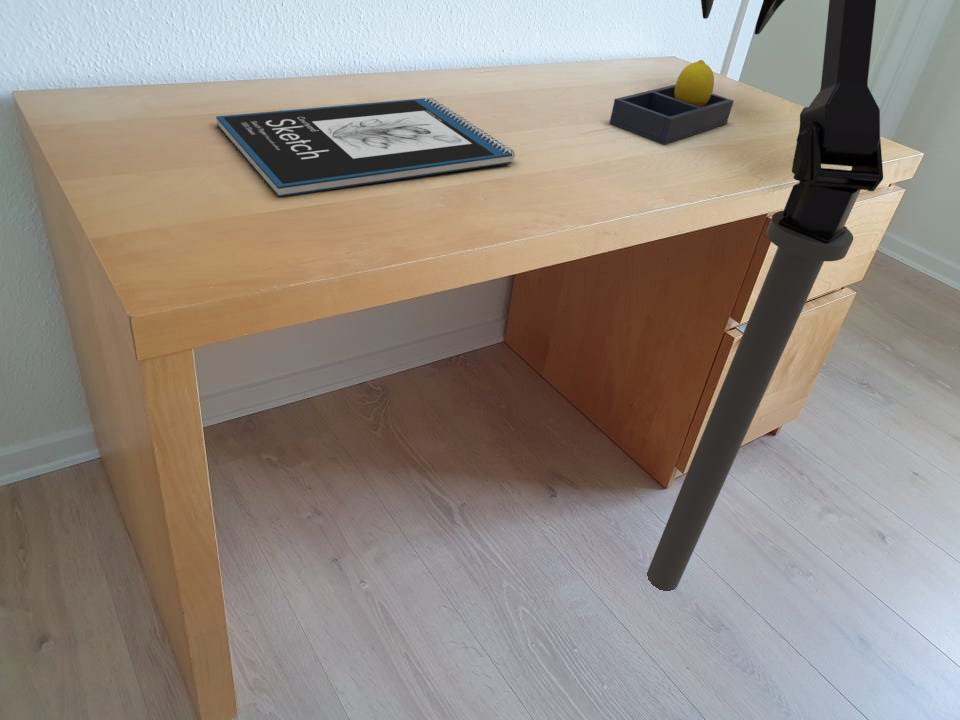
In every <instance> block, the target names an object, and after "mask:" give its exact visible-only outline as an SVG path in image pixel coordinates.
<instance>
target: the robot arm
mask: <svg viewBox="0 0 960 720" xmlns="http://www.w3.org/2000/svg"><path fill="white" fill-rule="evenodd" d="M714 1H715V0H700V5H701V13H702V19H704V20H706V19H709V17H710V14H711V11H712V8H713V6H714ZM785 1H786V0H763V1H762V5H761V8H760V10H759V14H758V16H757V20H756V24H755V27H754V35H756V36H757V35H760V34H761V32H762V31H763V30H764V28H765V27H766V26H767V24H768V23H769V21H770V20H771V19H772V17H773V16H774V15H775V13H776V12H777V10H778V9H779V8H780V7H781V6H782V4H783V3H784V2H785ZM876 9H877V0H829V1H828V11H827V20H826V21H827V22H826V29H825V30H826V31H825V41H824V50H823V51H824V52H823V62H822V71H821V82H820V88H819V92H818V93H817V94H816V96H815V97H814V98H813V100H812V102H811V103H810V104H809V106H806V107H803V108H802V109H801V111H800V114H799V130H798V134H797V138H796V146H795V151H794V156H793V161H792V166H791V173H792V174H793V176H792V178H793V179H794V180H795V181H797V183H796V184H793V186H792V188H791V191H790V193H789V196H788V198H787V201H786V203H785V206H784V208H783V210H784V211H783V210H782V211H783V213H782V214H783V216H785V217H784V218H782V219H780V220H779V223H778V224H779V225H781V226H784V227H786V228H789V229H791V230H794V231H796V232H798V233H801V234H803V235H806V236H808V237H811V238H813V239H815V240H818V241H820V242H823V243H826V244H828V243H830V242H831V241H833V240H834V239H836V238H837V237H839V236H840V235H842V234H843V233H845V232H846V230H847V229H848V227H847V226H846V224H847V221H848V219H849V217H850V215H851V212H852V211H853V208H854V206H855V204H856V201H857V199H858V197H859V196H860V193H861V191H868V192H874V191H875V190H876V189H877V188H878V187H879V185H880V184H881V183H882V181H883V180H884V169H883V168H884V167H883V156H882V155H883V154H882V153H883V152H882V143H881V142H882V141H881V110H880V107H879V105H878V103H877V101H876V99H875V97H874V95H873V94H872V91H871V90H870V87H869V76H870V75H869V74H870V66H871V57H872V45H873V38H874V37H873V36H874V29H875V28H874V27H875V17H876ZM822 165H826V166H827V165H828V166H841V167H851V169H839V168H829V167H828V168H826V167H822Z"/></svg>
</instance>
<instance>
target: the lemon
mask: <svg viewBox="0 0 960 720" xmlns="http://www.w3.org/2000/svg"><path fill="white" fill-rule="evenodd" d="M675 84H676V85H675ZM675 84H674V85H675V91H674V95H675V99H678V100H681V101H684V102H687V103H689V104H692V105H695V106H698V107H703V106H704V105H705V104H706V103H707V102H708V100H709V99H710V97H711V94H713V91H714V86H715V85H714V84H715V75H714V72H713V70H712V68H711V67H710V66H709V65H708V64H707V63H706V62H705V61H704V60H703V59H699V60H697V61H694V62H691V63H689V64H687V65H686V66H685V67H684V68H682V70H681V72H680V74H679V75H678V77H677V80H676V82H675Z"/></svg>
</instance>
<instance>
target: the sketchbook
mask: <svg viewBox="0 0 960 720" xmlns="http://www.w3.org/2000/svg"><path fill="white" fill-rule="evenodd" d="M215 118H216V119H215V120H216V126H217V127H218V128H219V129H220V131H222V133H223V134H224V135H225V136H226V137H227V139H229V141H230V142H231V143H232V144H233V146H234V147H235V148H236V149H237V150H238V151H239V153H240V154H241V155H242V156H243V157H244V158H245V160H246V161H247V162H248V163H249V164H250V166H251V167H252V168H253V169H254V170H255V171H256V172H257V173H258V174H259V176H260V177H261V178H262V180H263V181H264V182H265V183H266V184H267V185H268V186H269V187H270V189H271V190H272V191H273V192H274V193H275V195H277V197H278V198H279V197H281V198H282V197H288V196H295V195H301V194H307V193H315V192H322V191H328V190H336V189H342V188H349V187H356V186H363V185H371V184H377V183H383V182H384V183H385V182H390V181H398V180H405V179H411V178H419V177H425V176H432V175H438V174H446V173H452V172H458V171H459V172H460V171H465V170H467V171H468V170H472V169H479V168H480V169H481V168H487V167H493V166H501V165H508V164H512V162H513V161H514V159H515V157H516V151H515V150H514V149H513V147H510V146H508V145H507V144H506V143H504V142H503V141H501V140H499V139H498V138H496V137H494V136H493V135H492V134H490V133H488V132H487V131H485V130H484V129H482V128H481V127H479V126H478V125H476V124H474V123H473V122H472V121H470V120H468V119H467V118H465V117H463V116H462V115H461V114H459V113H457V112H456V111H454V110H453V109H452V108H450V107H448V106H447V105H445V104H444V103H442V102H441V101H439V100H437V99H436V98H434V97H433V96H427V97H424V98H423V97H422V98H411V99H400V100H391V101H390V100H388V101H377V102H367V103H354V104H343V105H332V106H330V105H329V106H321V107H320V106H319V107H307V108H296V109H295V108H294V109H286V110H285V109H283V110H273V111H262V112H261V111H260V112H249V113H239V114H227V115H217V116H215Z"/></svg>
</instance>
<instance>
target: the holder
mask: <svg viewBox="0 0 960 720" xmlns="http://www.w3.org/2000/svg"><path fill="white" fill-rule="evenodd" d="M675 85H676V83H675V84H671V85H666V86H662V87H659V88H654V89H651V90H647V91H642V92H638V93H634V94H630V95H626V96H622V97H617V98H615V99H614V102H613V106H612V110H611V115H610V119H609V124H610V125H611V126H614V127H616V128H620V129H623V130H625V131H628V132H630V133H634V134H635V135H638V136H641V137H643V138H646V139H649V140H652V141H654V142H657V143H659V144H661V145H668V144H670V143H673V142H676V141H679V140H683V139H686V138H689V137H691V136H694V135H697V134H700V133H704V132H706V131H710V130H712V129H715V128H718V127H721V126H724V125H727V124H728V121H729V118H730V114H731V111H732V109H733V105H734V102H735V100H733V99H731V98H728V97H725V96H723V95H722V96H721V95H718V94H715V93H712V94H711V97H710V99H709V100H708V102H707V103H706V104H705V105H704V106H703V107H698V106H695V105H692V104H689V103H687V102H684V101H681V100H678V99H675V95H674V91H675Z"/></svg>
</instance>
